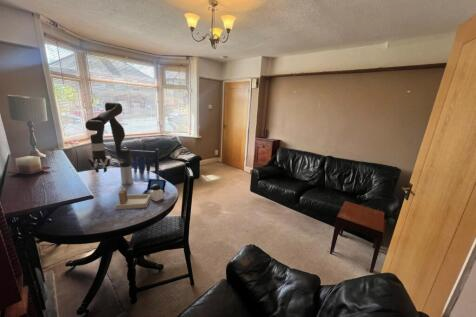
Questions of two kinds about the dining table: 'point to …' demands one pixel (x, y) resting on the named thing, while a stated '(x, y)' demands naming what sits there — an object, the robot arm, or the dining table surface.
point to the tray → (135, 201)
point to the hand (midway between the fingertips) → (101, 172)
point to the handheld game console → (153, 182)
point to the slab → (123, 196)
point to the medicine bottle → (156, 193)
